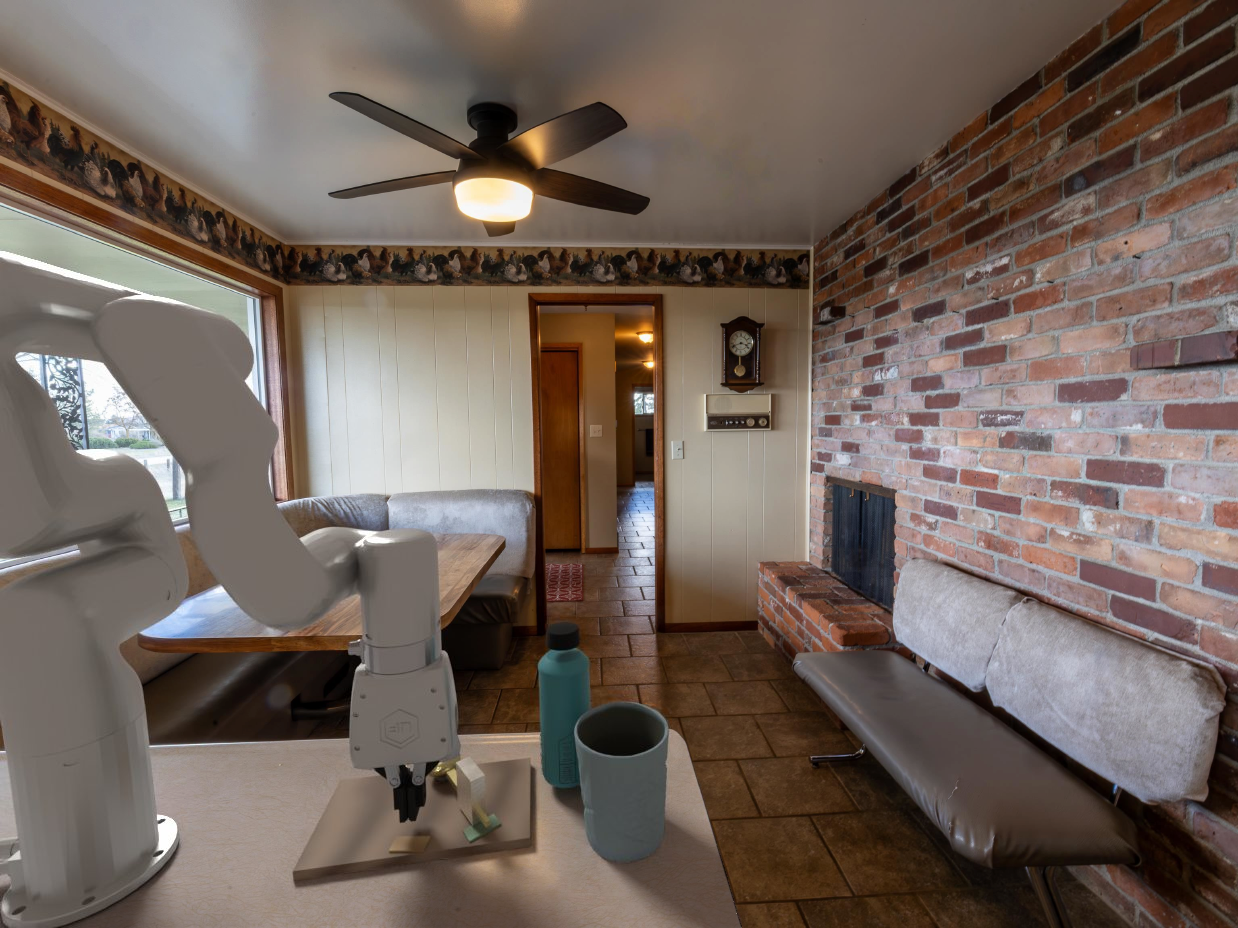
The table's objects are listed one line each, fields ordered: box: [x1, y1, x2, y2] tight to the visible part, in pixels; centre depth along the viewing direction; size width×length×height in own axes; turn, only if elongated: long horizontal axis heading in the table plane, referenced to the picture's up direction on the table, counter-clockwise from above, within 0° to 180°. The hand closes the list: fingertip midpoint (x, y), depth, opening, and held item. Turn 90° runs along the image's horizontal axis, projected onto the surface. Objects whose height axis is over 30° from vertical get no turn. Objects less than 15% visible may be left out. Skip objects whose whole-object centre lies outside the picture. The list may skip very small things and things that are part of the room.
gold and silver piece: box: [428, 754, 490, 827], centre depth 60 cm, size 14×4×5 cm, turn 39°
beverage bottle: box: [537, 621, 593, 789], centre depth 64 cm, size 6×7×20 cm
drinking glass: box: [574, 701, 670, 864], centre depth 57 cm, size 10×10×12 cm
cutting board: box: [292, 757, 532, 881], centre depth 60 cm, size 23×13×2 cm, turn 99°
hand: (411, 811), depth 56 cm, fingers closed
